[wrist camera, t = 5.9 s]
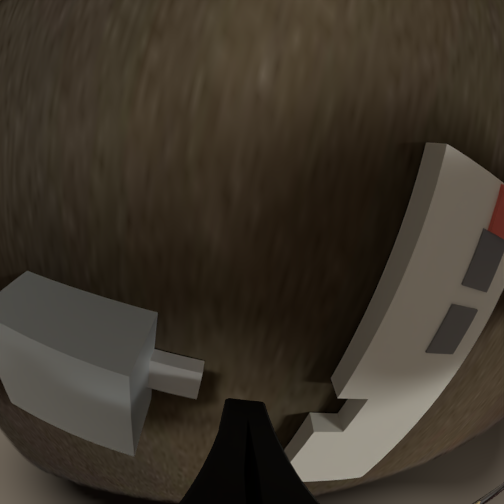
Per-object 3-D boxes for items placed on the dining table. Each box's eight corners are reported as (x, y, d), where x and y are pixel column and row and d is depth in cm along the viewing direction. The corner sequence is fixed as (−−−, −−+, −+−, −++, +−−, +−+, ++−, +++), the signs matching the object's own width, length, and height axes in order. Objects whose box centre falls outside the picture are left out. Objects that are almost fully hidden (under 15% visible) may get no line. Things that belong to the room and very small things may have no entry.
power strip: (514, 200, 9) (535, 208, 7) (357, 463, 14) (362, 479, 13) (426, 142, 8) (450, 144, 7) (272, 465, 14) (274, 484, 12)
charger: (213, 322, 10) (202, 395, 7) (194, 406, 12) (185, 468, 9) (29, 268, 9) (-23, 309, 6) (43, 356, 11) (11, 402, 8)
